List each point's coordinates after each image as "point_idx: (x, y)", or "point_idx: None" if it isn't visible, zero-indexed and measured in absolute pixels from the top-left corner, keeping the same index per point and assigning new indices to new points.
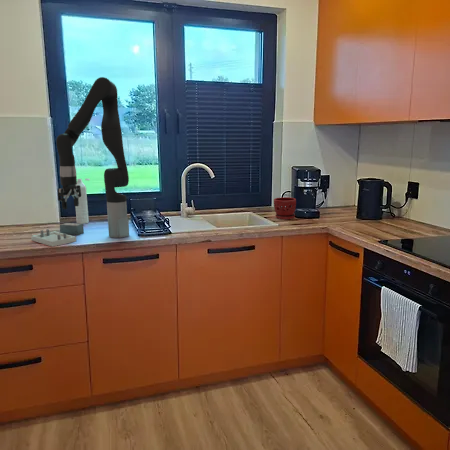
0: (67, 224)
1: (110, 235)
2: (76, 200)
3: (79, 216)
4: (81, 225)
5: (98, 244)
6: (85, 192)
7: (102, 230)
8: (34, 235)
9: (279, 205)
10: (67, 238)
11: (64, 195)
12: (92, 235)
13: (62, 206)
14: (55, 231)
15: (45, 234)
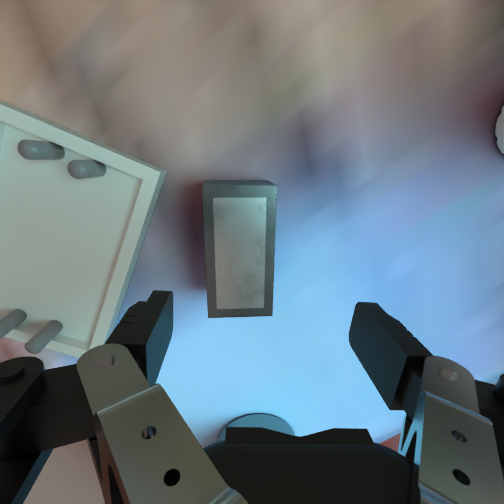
0: (226, 235)
1: (220, 440)
2: (383, 381)
3: None
4: (252, 313)
5: None
6: None
7: (339, 338)
8: (2, 111)
9: None
10: (47, 347)
11: (107, 489)
12: (233, 350)
13: (126, 318)
14: (157, 180)
15: (82, 153)
